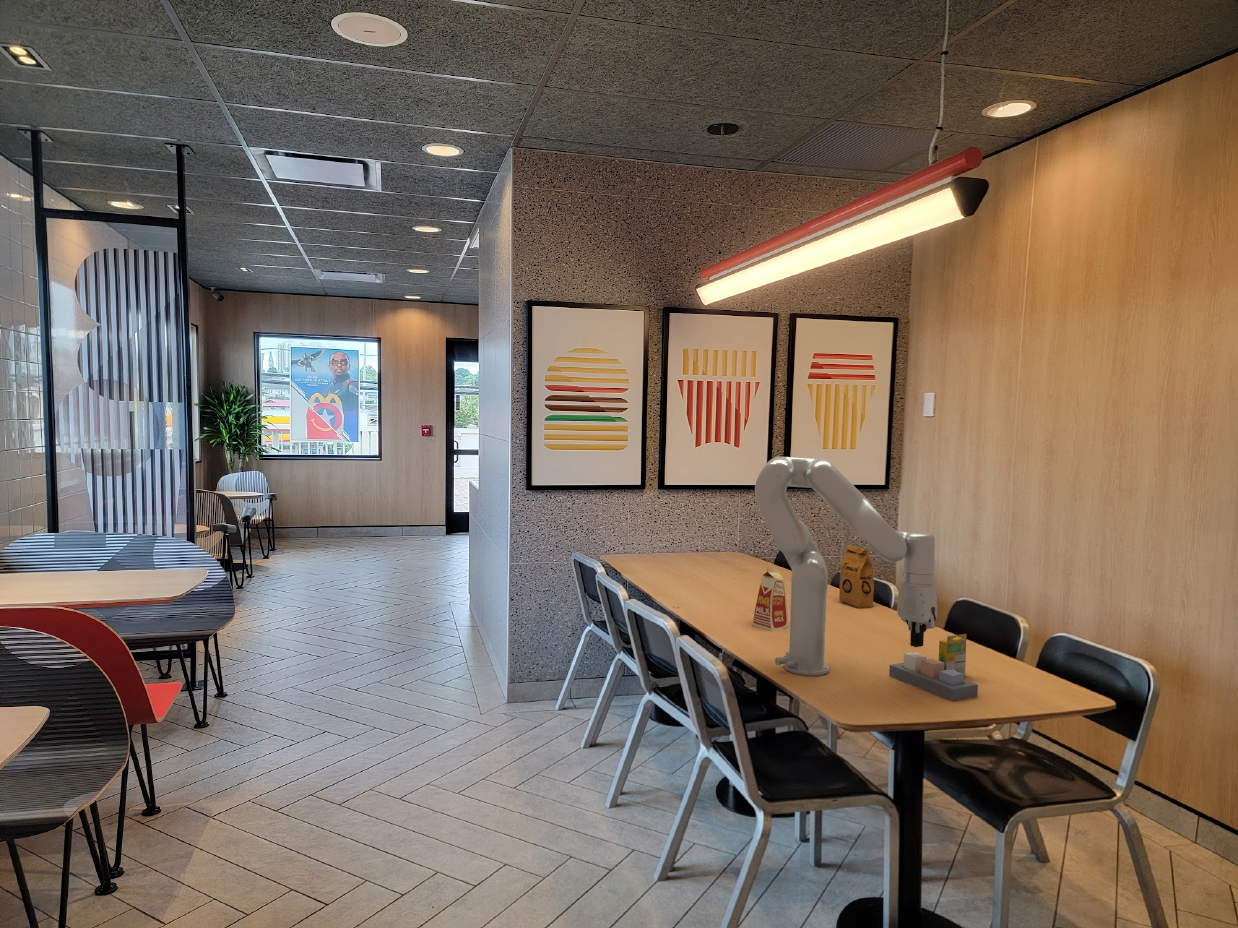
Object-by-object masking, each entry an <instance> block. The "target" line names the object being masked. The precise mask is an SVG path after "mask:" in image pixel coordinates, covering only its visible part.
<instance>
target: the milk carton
mask: <svg viewBox="0 0 1238 928" xmlns="http://www.w3.org/2000/svg"><path fill="white" fill-rule="evenodd" d="M780 572H781V570H779V569H771V568H768V567H767V568H766V572H765V573H764V574H762V576H761V580H760V585H759V589H758V593H757V595H756V597H757V598H756V602H755V607H754V611H753V612H754V613H753V618H752V622H751V623H752V626H754V627H757V628H760V629H764V630H766V631H769V632H776V631H780V630H781V631H782V630H784V629H786V628H788V627H789V620H788V619H789V615H788V614H789V613H788V603H787V593H786V591H787V590H786V584H785V579H784V577H782V575H781V573H780Z"/></svg>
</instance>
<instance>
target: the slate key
mask: <svg viewBox="0 0 1238 928" xmlns="http://www.w3.org/2000/svg"><path fill="white" fill-rule="evenodd" d="M963 679H964V676H963V674H962V673H959V672H957V671H954V670H951V669H949V670H944V671H939V681H941V682H944V683H946V684H949V685H952V686H953V685H959V684H963Z"/></svg>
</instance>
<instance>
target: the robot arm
mask: <svg viewBox="0 0 1238 928" xmlns="http://www.w3.org/2000/svg"><path fill="white" fill-rule="evenodd" d="M788 487H791V488H792V487H794V488H795V487H796V488H809V489H810V488H811V489H812V490H813V491H814V492H815V493H816V494H817V495H818V496H819V497H820V498H821V499H822V500H823V501H825V503H826V504H827V505H828V506H829V507H830V508H831V509H832V510H833V511H834V512H835V513H836V514H837V515H838V516H839V518H841V519H842V520H843V521H844V523H846V525H848V526H849V527H850V528H851V529H852V530H854V531H855V532H856V534H857V535H859V537H860V538H861V539H863V541H864V542H865V543H867V545H868V546H870V548H871V549H872V551H874V552H875V553H876V554H877V556H879V557H880V558H881V559H882V560H883V561H885V562H888V563H898V562H900V561H902V560H903V561H904V562H903V563H904V564H903V569H904V571H902V576H903V580H902V581H901V583H900V587H899V590H898V595H897V596H898V598H897V600H898V601H897V608H896V612H897V613H896V614H897V615H898V617H899V618H900V620H901V621H903V622H904V623H906V625H907V627H908V630H909V632H910V636H909V637H910V639H909V641H910V643H909V645H910V646H911V647H914V648H921V647H924V638H925V637H924V635H925V634H924V633H926V632H927V630H928V629H929V630H930V629H935V627H936V625H935V622H937V619H938V597H937V590H936V586H935V585H934V584H935V557H936V556H935V554H936V553H935V552H936V551H935V548H936V539H935V536H934V535H933V534H932V533H929V532H923V531H911V532H908V531H907V532H906V531H900V530H895V529H894V528H893V527H892V526H891V525H890V524H889V523H888V522H887V521H886V520H885V519H884V518H883V517H882V516H881V514H879V512H878V511H877V509H875V508H874V506H873V505H872V504H871V502H870V501H869V500H868V499H867V498H866V496H865V495H864V494H862V492H861V491H860V490H859V489H858V488H856V486H855V485H854V484H853V483H852V482H851V481H849V479H848V478H847V477H846V476H845V475H844V474H843V473H842V472H841V471H840V470H839V469H838V468H837V467H836V466H835V465H834V464H833V463H832V462H831V461H829V460H828V459H825V458H805V457H804V458H803V457H792V456H790V457H789V456H776V457H773V458H771V459H769V460H768V462H767V463H766V464H765V465H764V467H763V468H762V470H761V471H760V473H759V475H758V476H757V478H756V482H755V486H754V495H755V502H756V505H757V506H758V507H757V508H758V509H759V511H760V513H761V516H762V517H763V520H764V522H765V524H766V527H768V530H769V532H770V534H771V536H772V538H773V540H774V543H775V546H776V547H777V548H778V550H779V551H780V552H781V553H782V554H783V556H784V557H785V560H786V561H787V563H788V565H789V567H790V569H791V575H790V576H791V578H790V579H791V580H790V582H791V583H790V587H791V589H790V591H791V592H790V618H789V619H790V621H789V622H790V623H789V625H790V626H789V645H788V646H789V650H788V651H786V652H785V655H784V656H779V657H775V659H774V663H775V665H777V666H778V665H782V667H783V668H784V670H786V671H788V672H789V673H793V674H795V675H801V676H809V677H810V676H814V677H815V676H823V675H827V674H829V673H830V670H831V668H830V665H829V664H827V663H826V662H825V647H826V646H825V645H826V622H827V621H826V619H827V618H826V616H827V614H826V613H827V593H828V581H829V580H828V579H829V576H828V575H829V574H828V573H829V572H828V568H827V567H828V566H827V564H826V561H825V559H824V556H823V555H822V554H821V552H820V550H819V547H818V545H817V543H816V541H815V540H814V538H813V536H812V534H811V532H810V530H809V529H808V527H807V525H806V524H805V523H804V522H803V521H802V520H801V519H800V518H799V517H798V515H797V513H796V511H795V510H794V507H793V505H792V503H791V502H790V500H789V497H788V496H787V488H788Z"/></svg>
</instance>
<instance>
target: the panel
mask: <svg viewBox="0 0 1238 928" xmlns="http://www.w3.org/2000/svg"><path fill="white" fill-rule="evenodd" d="M903 664H904V662H900V663H899V662H898V663H894V664H889V672H888V675H889V677H892V678H894V679H897V680H899V681H901V682H904V683H906V684H908V685H911V686H913V687H916V688H918V689H922V690H924V691H926V692H929V693H932V694H934V695H937V696H939V697H940V698H944V699H946V700H949V701H951V702H956V701H959V700H966V699H969V698H974V697H975V698H976V697H978V694H979V693H978V691H979V683H978V684H977V683H975V682H972V681H971V680H966V679H964V678H963V684H959V685H953V686H952V685H949V684H946V683H944V682H941V681H939V677H938V678H930V677H928V676H925V675H923V674H921V671H916V672H915V671H912V670H909V669H907V668H904V667H903Z"/></svg>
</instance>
